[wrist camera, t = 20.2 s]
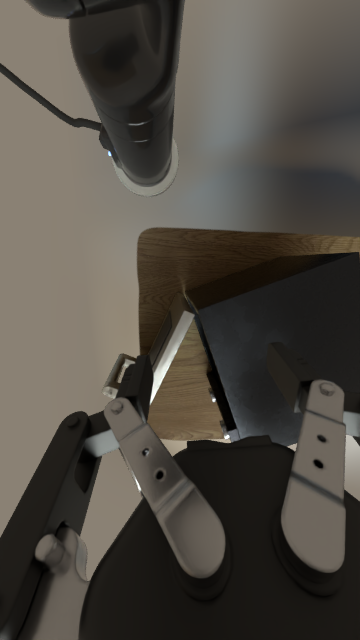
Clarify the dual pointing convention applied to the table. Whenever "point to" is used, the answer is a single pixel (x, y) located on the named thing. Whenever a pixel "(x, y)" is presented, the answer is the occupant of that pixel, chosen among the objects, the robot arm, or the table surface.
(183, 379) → the table surface
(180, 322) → the microwave door
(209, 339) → the microwave
